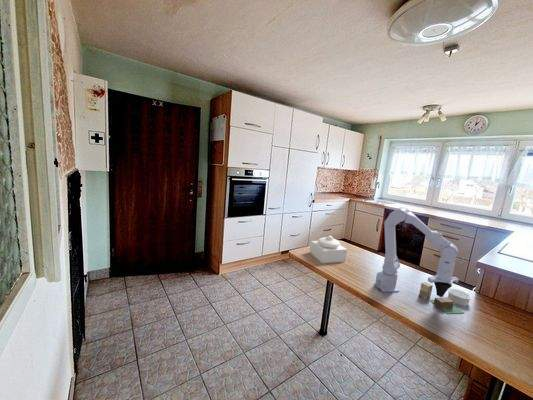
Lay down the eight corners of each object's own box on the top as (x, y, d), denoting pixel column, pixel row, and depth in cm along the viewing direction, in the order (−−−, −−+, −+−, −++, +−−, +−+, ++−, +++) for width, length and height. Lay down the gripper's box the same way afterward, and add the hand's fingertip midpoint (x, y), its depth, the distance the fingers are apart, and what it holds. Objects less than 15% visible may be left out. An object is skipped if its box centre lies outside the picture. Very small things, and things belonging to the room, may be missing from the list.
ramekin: (456, 295, 122) (458, 288, 121) (474, 306, 114) (476, 298, 113) (442, 296, 120) (444, 288, 120) (459, 307, 112) (461, 299, 111)
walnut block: (441, 302, 108) (454, 301, 109) (434, 297, 112) (447, 297, 113) (439, 308, 109) (452, 308, 110) (433, 304, 112) (445, 303, 113)
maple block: (425, 299, 117) (428, 286, 115) (418, 295, 120) (421, 282, 119) (430, 297, 118) (432, 285, 117) (423, 294, 121) (425, 281, 120)
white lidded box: (309, 252, 166) (311, 231, 163) (331, 251, 171) (334, 230, 168) (322, 263, 150) (324, 240, 147) (345, 261, 155) (348, 239, 152)
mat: (447, 313, 106) (447, 313, 106) (429, 300, 116) (429, 300, 115) (464, 313, 107) (464, 312, 107) (444, 300, 117) (445, 299, 117)
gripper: (439, 273, 102) (433, 301, 105) (467, 273, 104) (460, 300, 107) (426, 266, 109) (420, 292, 111) (452, 266, 111) (446, 291, 114)
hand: (439, 295), depth 110 cm, fingers closed
